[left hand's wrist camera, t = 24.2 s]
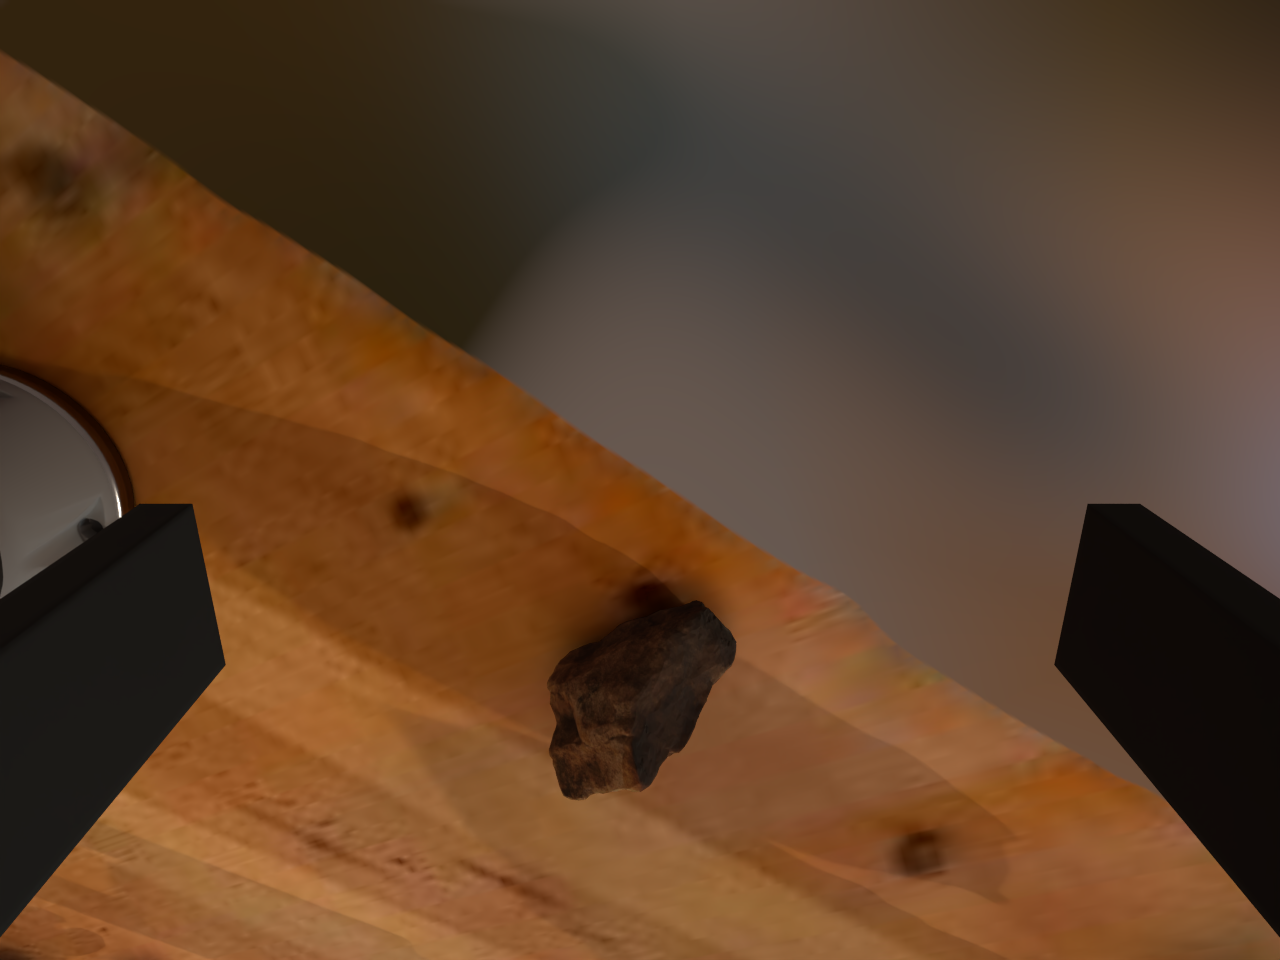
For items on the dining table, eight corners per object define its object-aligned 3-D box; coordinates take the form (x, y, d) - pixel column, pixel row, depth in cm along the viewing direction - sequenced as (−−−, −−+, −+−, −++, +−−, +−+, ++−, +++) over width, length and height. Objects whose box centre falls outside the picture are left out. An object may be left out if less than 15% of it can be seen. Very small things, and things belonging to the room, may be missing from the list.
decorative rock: (579, 716, 56) (566, 839, 45) (535, 646, 54) (511, 758, 44) (743, 647, 54) (767, 759, 44) (704, 572, 52) (720, 671, 42)
